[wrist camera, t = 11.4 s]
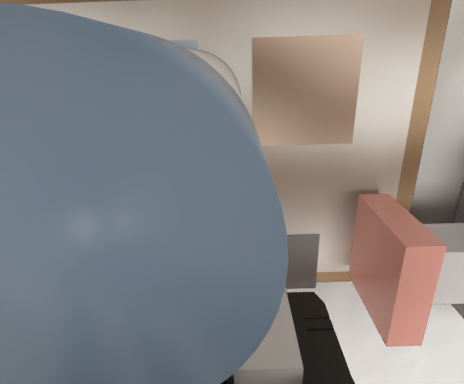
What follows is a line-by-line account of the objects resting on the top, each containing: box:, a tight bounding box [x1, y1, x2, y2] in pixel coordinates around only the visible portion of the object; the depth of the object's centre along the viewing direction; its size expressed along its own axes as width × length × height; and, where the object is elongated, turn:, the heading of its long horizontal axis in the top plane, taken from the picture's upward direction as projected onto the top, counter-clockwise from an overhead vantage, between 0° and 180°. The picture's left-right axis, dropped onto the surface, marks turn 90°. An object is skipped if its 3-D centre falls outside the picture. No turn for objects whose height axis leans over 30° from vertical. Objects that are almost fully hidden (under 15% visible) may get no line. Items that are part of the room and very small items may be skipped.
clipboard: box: [0, 0, 452, 289], centre depth 14 cm, size 13×16×1 cm
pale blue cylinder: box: [0, 3, 288, 384], centre depth 7 cm, size 3×3×11 cm
